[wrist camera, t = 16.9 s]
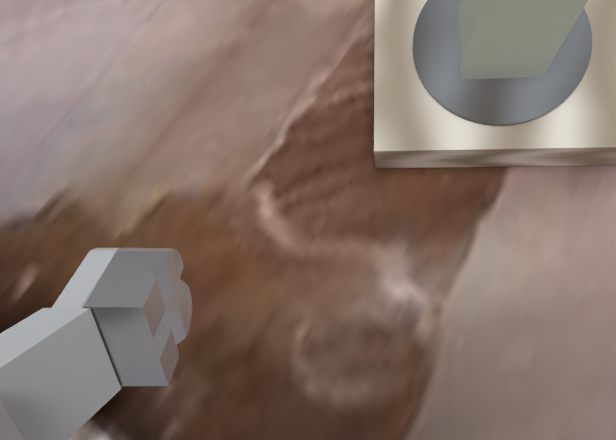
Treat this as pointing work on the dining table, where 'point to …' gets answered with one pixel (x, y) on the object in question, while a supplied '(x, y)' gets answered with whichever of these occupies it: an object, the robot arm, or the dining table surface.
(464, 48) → the sage block
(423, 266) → the dining table surface
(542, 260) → the dining table surface
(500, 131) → the birch base
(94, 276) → the robot arm
